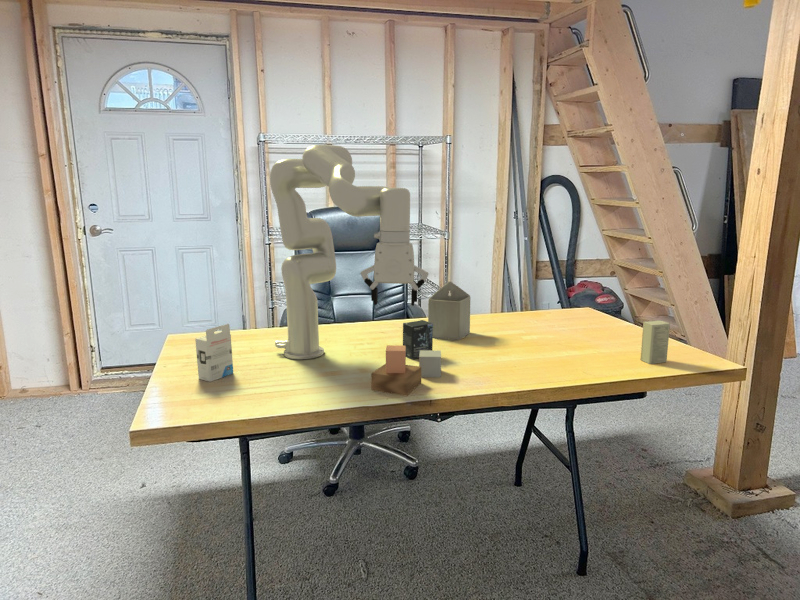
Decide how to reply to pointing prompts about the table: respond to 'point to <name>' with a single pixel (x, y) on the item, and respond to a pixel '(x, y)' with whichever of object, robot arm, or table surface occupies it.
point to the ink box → (214, 354)
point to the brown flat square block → (396, 380)
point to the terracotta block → (395, 359)
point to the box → (417, 337)
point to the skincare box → (655, 341)
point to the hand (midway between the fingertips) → (394, 304)
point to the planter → (449, 312)
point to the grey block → (430, 363)
